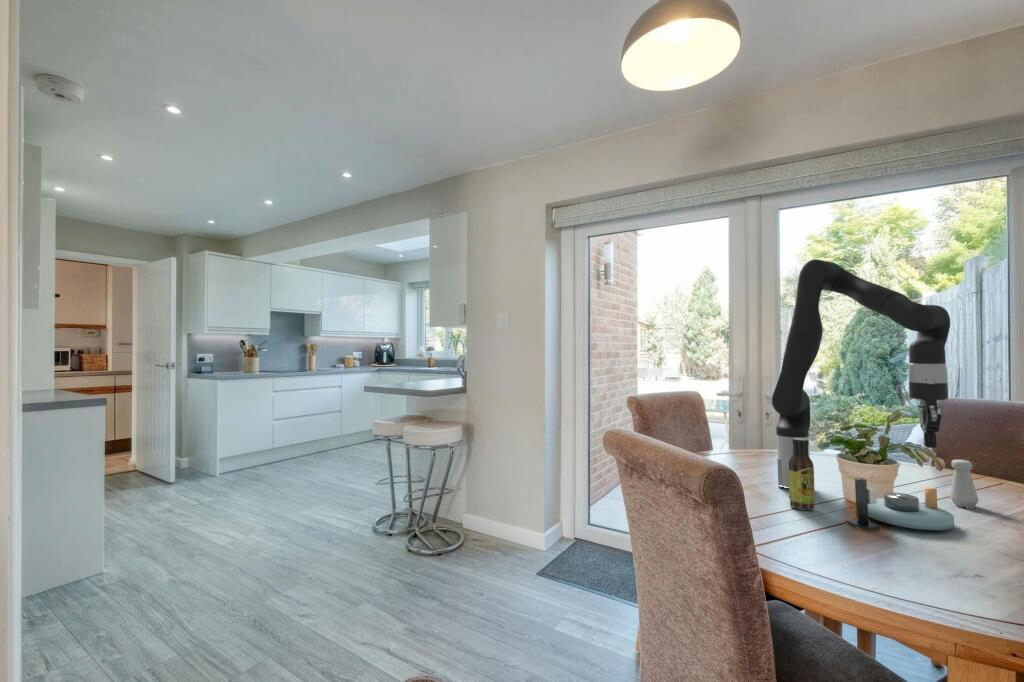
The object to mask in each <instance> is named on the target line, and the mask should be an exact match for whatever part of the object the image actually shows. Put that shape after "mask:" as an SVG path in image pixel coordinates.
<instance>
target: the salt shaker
mask: <svg viewBox="0 0 1024 682" xmlns="http://www.w3.org/2000/svg"><path fill="white" fill-rule="evenodd" d="M950 464H951V467H952V468H953V469H954V470H953V475H952V481H951V487H950V493H949V497H950V500H951V501H952V503H953V504H955V505H954V506H955V507H957V506H960V507H959V508H961V507H968V508H967V509H969V508H973V509H975V507H976V506H977V505H978V503H979V497H978V493H977V490H976V486H975V483H974V481H973V477H972V474H971V470H973V463H972V462H971V461H969V460H966V459H953V460H951V463H950Z"/></svg>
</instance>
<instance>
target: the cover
mask: <svg viewBox="0 0 1024 682" xmlns="http://www.w3.org/2000/svg"><path fill="white" fill-rule="evenodd" d="M883 498H884V506H885V507H887V508H889V509H892V510H896V511H901V512H919V503H920V502H919V497H918V496H914V495H911V494H907V493H901V492H885V493H883Z"/></svg>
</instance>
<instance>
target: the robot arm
mask: <svg viewBox="0 0 1024 682" xmlns="http://www.w3.org/2000/svg"><path fill="white" fill-rule="evenodd" d="M800 268H801V269H800V270H799V273H798V278H797V286H796V295H795V296H796V297H795V304H794V308H793V312H792V317H791V323H790V327H789V330H788V334H787V338H786V344H785V349H784V354H783V359H782V363H781V369H780V373H779V377H778V380H777V383H776V385H775V387H774V390H773V393H772V396H771V404H772V407H773V409H774V411H775V412H776V413H777V414H779V418H778V419H779V420H778V423H777V425H776V428H775V431H776V433H775V434H776V449H777V450H776V451H777V452H776V453H777V457H776V458H777V459H776V461H777V463H776V464H777V482H778V485H782V486H786V487H789V460H790V459H791V457H792V456H793V443H792V439H793V438H804V439H808V440H809V441H810V427H811V401H810V397H809V395H808V393H807V392H806V390H804V386H805V381H806V377H807V374H808V373H809V370H810V369H811V367H812V365H813V363H814V361H815V360H816V358H817V355H818V354H819V350H820V347H821V343H822V337H823V333H824V327H823V323H822V318H821V314H820V307H819V306H820V305H819V304H820V298H821V294H822V291H828V292H834V293H837V294H840V295H843V296H846V297H849V298H851V299H852V300H854V301H855V302H857V303H858V304H860V305H861V306H862V307H864V308H866V309H869V310H870V311H873V312H874V313H877V314H879V315H881V316H884V317H887V318H889V319H890V320H891V321H893V322H895V323H896V324H897V325H898V326H901V327H903V328H905V329H907V330H910V331H913V332H917V334H916V335H917V336H916V340H915V341H913V342H911V343H910V344H909V347H908V359H909V360H908V361H909V362H908V363H909V364H908V373H907V374H908V390H909V391H908V396H909V398H911V399H912V400H913V399H914V400H919V401H920V402H919V404H920V405H919V404H917V412H918V417H919V418H918V419H919V424H920V425H919V426H920V428H921V431H922V432H923V445H924V447H926V448H929V449H935V448H937V434H938V433H939V432H940V426H941V421H942V420H941V419H942V415H941V412H942V411H941V410H942V409H941V407H940V406H938V401H946V400H948V399H949V385H948V384H949V381H948V369H947V365H946V364H947V363H946V360H947V359H946V345H947V341H948V337H949V333H950V329H951V328H950V327H951V317H950V314H949V312H948V311H947V309H945V307H942V306H941V305H936V304H921V303H919V302H915V301H912V300H910V299H909V297H908V296H906V294H903V293H901V292H899V291H896V290H893V289H892V288H891V289H890V288H888V287H886V286H883V285H880V284H877V283H874V282H871V281H869V280H865V279H863V278H862V277H859V276H857V275H855V274H853V273H851V272H850V271H849V270H847V269H845V268H843V267H842V266H840V265H839V264H836V263H835V262H832V261H828V260H823V259H817V258H815V259H810V260H808V261H806V262H805V263H804V264H803V265H802V267H800ZM810 451H811V450H810V444H809V445H808V453H809V454H808V456H809V457H810V458H811V455H810Z"/></svg>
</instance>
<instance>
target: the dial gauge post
mask: <svg viewBox="0 0 1024 682" xmlns="http://www.w3.org/2000/svg"><path fill="white" fill-rule="evenodd" d="M867 483H868V482H867V478H863V477H862V478H861V477H855V478H854V490H855V491H854V492H855V509H856V519H849V520H848V519H846V520H845V524H846V523H848V524H850V525H849V526H851V525H852V526H851V527H853V526H855V527H854V528H856V527H858V528H860V529H859V530H861V529H863V530H867V531H873V530H872V529H876V530H881V529H882V527H881V525H880V524H877V523H874V522H872V521H869V516H868V504H876V503H877V499H878V498H877V489H876V488H873V487H870V486H868V484H867ZM848 524H847V525H848ZM858 528H857V529H858ZM863 530H862V531H863Z"/></svg>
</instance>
